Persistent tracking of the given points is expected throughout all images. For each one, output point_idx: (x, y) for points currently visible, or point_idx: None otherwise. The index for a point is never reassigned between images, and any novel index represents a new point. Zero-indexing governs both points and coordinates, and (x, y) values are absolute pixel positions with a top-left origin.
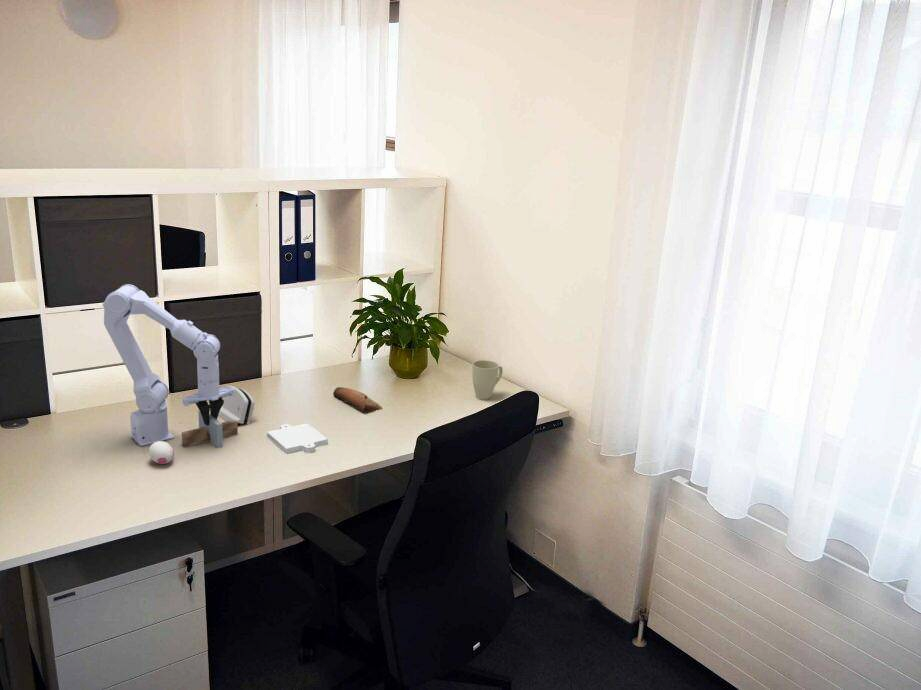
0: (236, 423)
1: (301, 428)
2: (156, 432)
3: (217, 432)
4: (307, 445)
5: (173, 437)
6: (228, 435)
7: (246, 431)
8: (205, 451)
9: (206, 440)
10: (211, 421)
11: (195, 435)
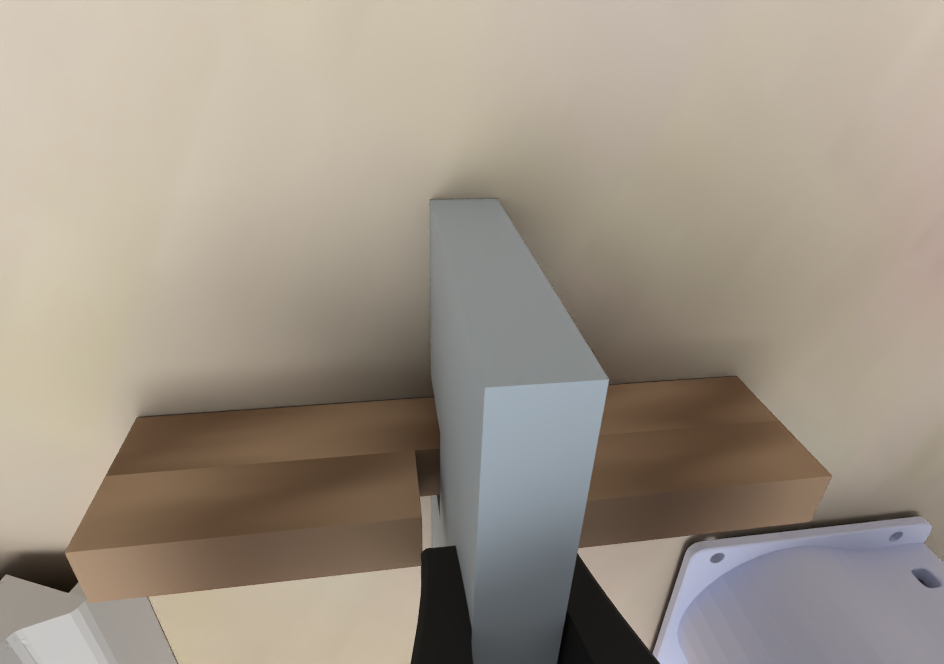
0: (95, 524)
1: None
2: (866, 606)
3: (552, 292)
4: None
5: (697, 547)
6: (258, 413)
7: (9, 431)
8: (656, 184)
9: None
10: (568, 558)
11: (673, 449)
